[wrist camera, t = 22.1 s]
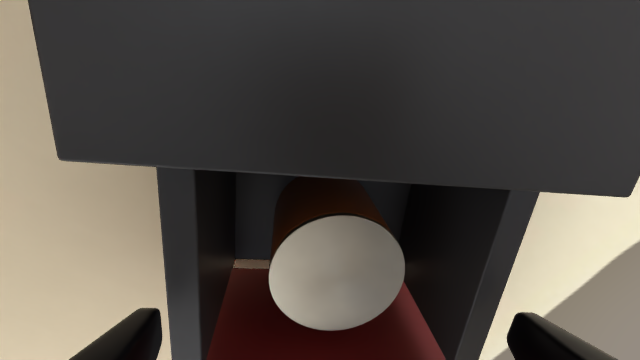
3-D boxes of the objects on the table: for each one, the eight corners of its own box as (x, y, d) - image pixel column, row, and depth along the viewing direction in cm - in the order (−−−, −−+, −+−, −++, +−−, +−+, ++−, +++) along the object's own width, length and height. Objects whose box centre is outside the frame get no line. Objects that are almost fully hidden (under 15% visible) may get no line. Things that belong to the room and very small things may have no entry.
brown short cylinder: (383, 232, 14) (422, 299, 10) (300, 269, 14) (304, 348, 10) (349, 152, 12) (377, 191, 8) (257, 194, 13) (242, 252, 9)
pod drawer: (390, 350, 18) (445, 502, 12) (211, 351, 17) (163, 522, 10) (463, 41, 12) (640, 13, 6) (203, 8, 11) (92, -71, 5)
